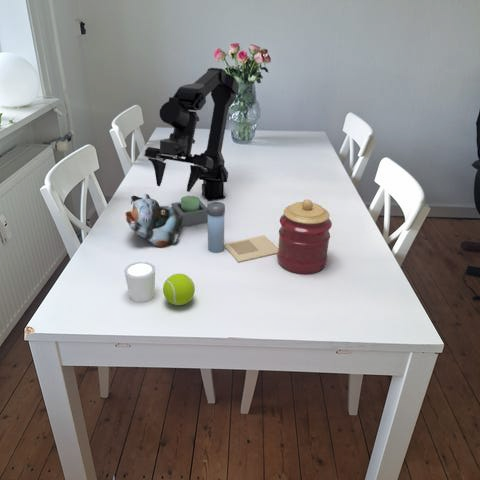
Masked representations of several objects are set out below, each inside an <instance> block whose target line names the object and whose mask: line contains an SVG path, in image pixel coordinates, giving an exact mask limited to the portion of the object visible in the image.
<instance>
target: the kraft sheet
mask: <svg viewBox="0 0 480 480" xmlns="http://www.w3.org/2000/svg"><path fill="white" fill-rule="evenodd" d="M278 247H279V246H277V245H276V244H275V243H274V242H272V241H271V239H269V238H268V237H267V236H266V235H265V234H264V235H260V236H254V237H251V238H249V237H248V238H245V239H240V240H235V241H230V242H226V243H225V242H224V249H226V251H228V253H229V254H230V256H232V257H233V258H234V259H235V261H236V262H237V263H239V264H240V263H242V262H247V261H251V260H252V261H253V260H256V259H261V258H265V257H269V256H273V255H274V256H275V255H277V251H278Z"/></svg>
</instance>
